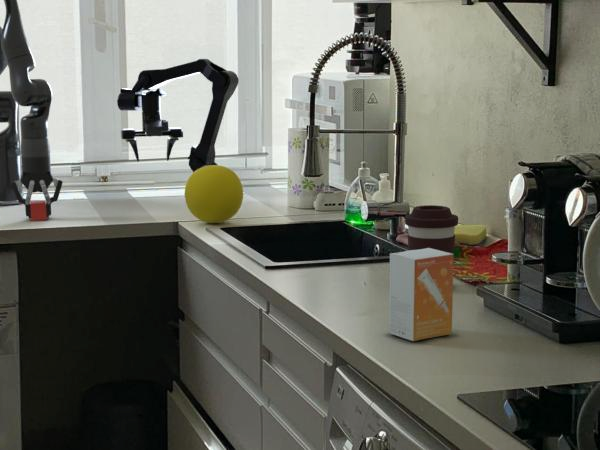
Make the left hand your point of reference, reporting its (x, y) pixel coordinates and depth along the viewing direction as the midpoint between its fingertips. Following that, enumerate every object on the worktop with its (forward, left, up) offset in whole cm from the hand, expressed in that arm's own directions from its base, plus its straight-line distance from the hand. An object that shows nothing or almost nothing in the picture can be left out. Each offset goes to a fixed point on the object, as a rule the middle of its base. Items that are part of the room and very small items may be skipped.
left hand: (38, 217), depth 282 cm
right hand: (-20, +48, +10) cm, 53 cm away
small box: (+149, -7, 0) cm, 149 cm away
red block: (0, 0, 0) cm, 0 cm away
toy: (+38, +31, 0) cm, 49 cm away
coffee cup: (+126, +19, 0) cm, 128 cm away
